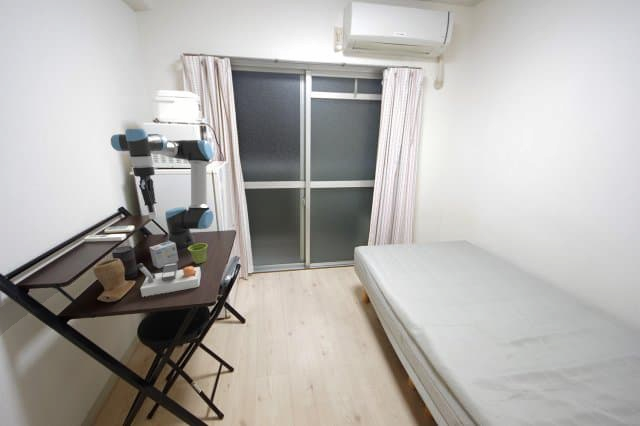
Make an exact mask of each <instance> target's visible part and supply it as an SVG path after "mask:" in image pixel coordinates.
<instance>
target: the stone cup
mask: <svg viewBox="0 0 640 426" xmlns="http://www.w3.org/2000/svg"><path fill="white" fill-rule="evenodd" d="M124 273H125V270H124V266H123V263H122V261H121V260H120V259H117V258H116V259H113V258H111V259H107V260H104V261H101V262H98V263H97V264H95V265H94V266H93V274H94V276H95V278H97V280H98V281H99V282H100V284H101V285H102V287H103V288H104V289H103V290H104V291H102V293H101V294H100V295H99V296H98V297H97V300H98V301H101V302H104V303H105V302H106V303H113V302H117V301H119V300H120V299H122V298H123V297H124V296H125V295H126V294H127V293H128V292H129V291H130V290H131V289H132V288H133V286H134V285H135V284H136V280H126V281H125V277H124Z"/></svg>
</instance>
